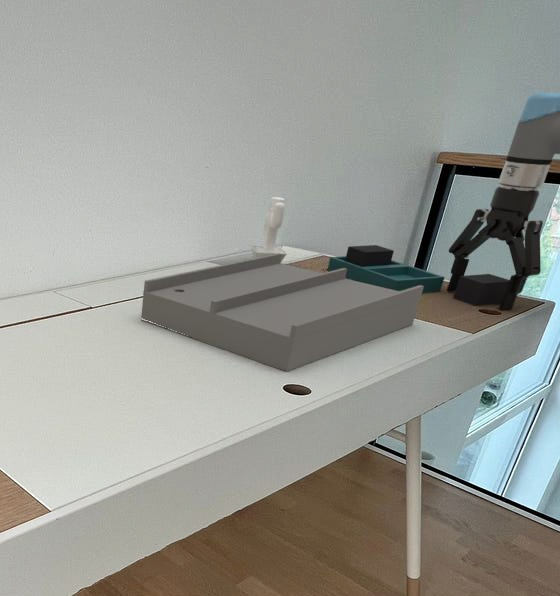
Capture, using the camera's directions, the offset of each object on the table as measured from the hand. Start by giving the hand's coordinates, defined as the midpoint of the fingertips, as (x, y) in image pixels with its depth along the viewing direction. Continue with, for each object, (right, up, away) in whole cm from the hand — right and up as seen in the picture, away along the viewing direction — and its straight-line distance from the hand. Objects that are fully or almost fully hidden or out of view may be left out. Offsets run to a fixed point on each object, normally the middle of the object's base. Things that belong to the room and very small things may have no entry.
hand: (477, 299), depth 141 cm
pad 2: (0, 0, 0) cm, 0 cm away
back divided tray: (-15, +8, +12) cm, 21 cm away
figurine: (-39, +15, +20) cm, 46 cm away
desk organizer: (-47, -10, -17) cm, 51 cm away
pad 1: (-17, +12, +16) cm, 26 cm away
